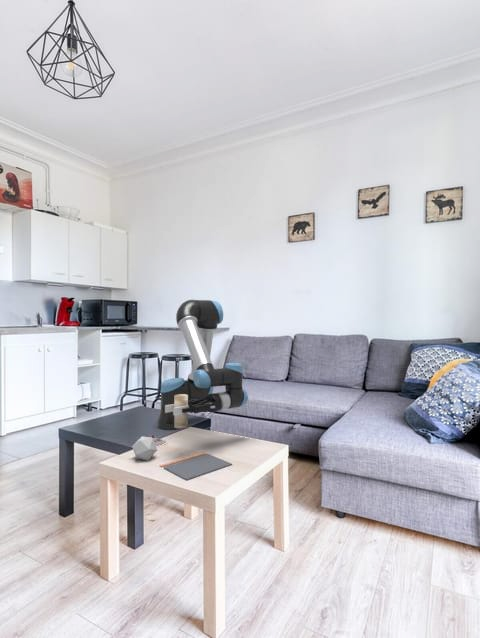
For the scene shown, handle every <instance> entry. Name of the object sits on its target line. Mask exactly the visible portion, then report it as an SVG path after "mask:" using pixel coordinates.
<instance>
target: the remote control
mask: <svg viewBox="0 0 480 638" xmlns="http://www.w3.org/2000/svg"><path fill="white" fill-rule="evenodd" d="M149 437H150V438H153V440H154V443H155V445H156V446H159V445H162V444H164V443H166V442H167V441H166V440H165V439H160V438H158V437H155V436H154V434H152V435H151V436H149ZM164 445H165V444H164ZM162 446H163V445H162ZM159 447H160V446H159Z"/></svg>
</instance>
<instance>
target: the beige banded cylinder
mask: <svg viewBox="0 0 480 638" xmlns="http://www.w3.org/2000/svg"><path fill="white" fill-rule="evenodd" d="M182 406H188V395H186V394H178V395H174V408H176V407H182ZM174 427H175V428H180V429H185V428H186V429H187V427H189V413H185V414H180V415H175V416H174Z"/></svg>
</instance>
